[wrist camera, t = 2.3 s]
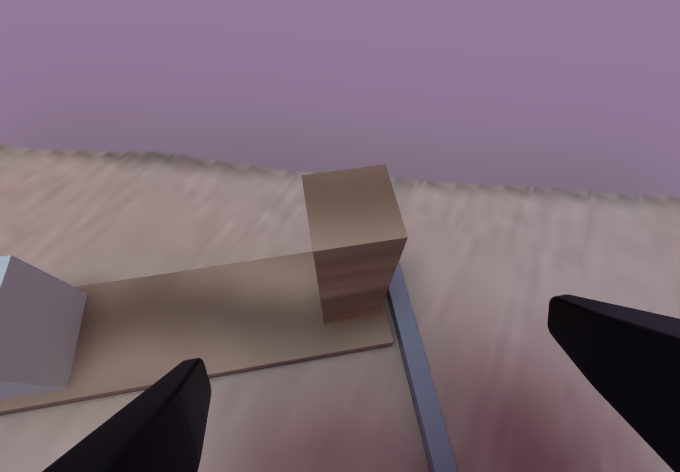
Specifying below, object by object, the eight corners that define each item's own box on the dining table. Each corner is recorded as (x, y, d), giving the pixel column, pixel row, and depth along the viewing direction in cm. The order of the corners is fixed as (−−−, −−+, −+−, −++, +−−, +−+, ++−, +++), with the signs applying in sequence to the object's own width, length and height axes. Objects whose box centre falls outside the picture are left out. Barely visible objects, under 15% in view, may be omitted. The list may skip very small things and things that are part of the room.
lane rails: (486, 597, 14) (496, 609, 13) (-187, 765, 12) (-229, 793, 11) (388, 241, 22) (391, 234, 21) (-19, 303, 20) (-36, 297, 19)
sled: (390, 345, 19) (437, 278, 10) (-36, 421, 17) (-450, 423, 8) (368, 250, 21) (389, 132, 13) (2, 306, 20) (-272, 214, 11)
